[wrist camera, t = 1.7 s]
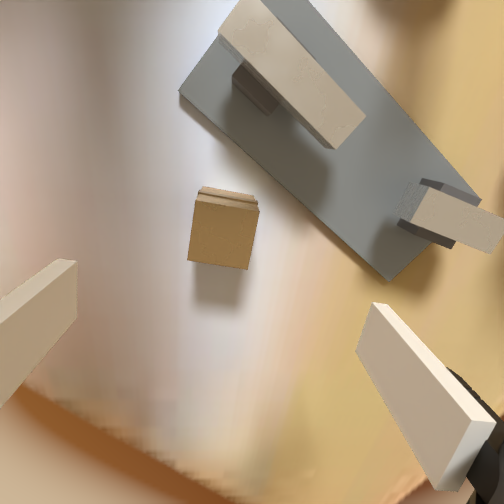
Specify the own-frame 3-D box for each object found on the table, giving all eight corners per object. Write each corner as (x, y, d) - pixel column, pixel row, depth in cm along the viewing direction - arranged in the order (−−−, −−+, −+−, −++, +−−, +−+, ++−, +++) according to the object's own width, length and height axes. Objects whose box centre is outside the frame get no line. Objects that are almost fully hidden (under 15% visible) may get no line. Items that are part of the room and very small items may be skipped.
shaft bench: (179, 92, 28) (170, 84, 24) (271, -34, 26) (279, -67, 21) (384, 278, 36) (405, 297, 32) (472, 195, 33) (507, 205, 29)
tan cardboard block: (194, 235, 33) (185, 261, 26) (202, 184, 31) (194, 198, 25) (245, 244, 33) (248, 270, 27) (254, 194, 32) (261, 210, 25)
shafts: (219, 43, 23) (217, 30, 20) (271, -29, 22) (277, -53, 19) (442, 264, 31) (463, 278, 28) (490, 220, 29) (518, 229, 26)
